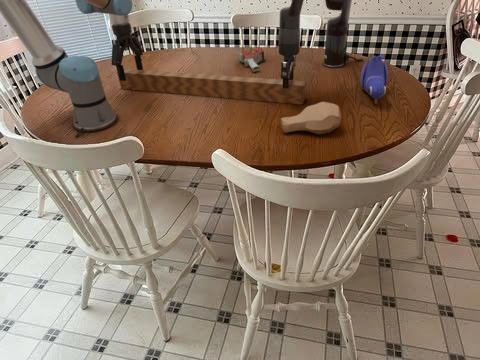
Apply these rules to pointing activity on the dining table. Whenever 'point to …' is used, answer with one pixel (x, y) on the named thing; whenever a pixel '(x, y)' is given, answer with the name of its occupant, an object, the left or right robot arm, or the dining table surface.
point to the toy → (374, 77)
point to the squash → (314, 119)
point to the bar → (215, 86)
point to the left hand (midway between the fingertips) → (132, 75)
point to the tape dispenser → (251, 58)
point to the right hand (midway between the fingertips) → (288, 83)
